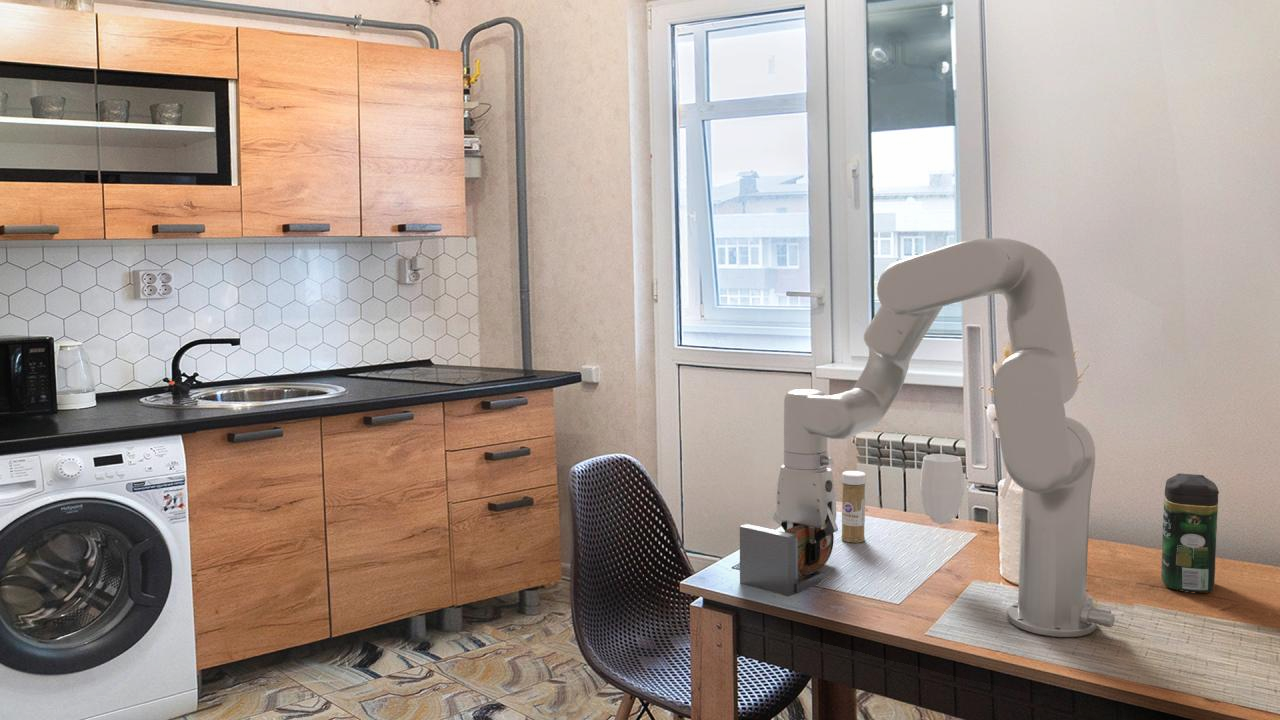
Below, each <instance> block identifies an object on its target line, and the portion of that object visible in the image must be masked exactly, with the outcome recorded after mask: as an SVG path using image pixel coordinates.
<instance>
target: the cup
mask: <svg viewBox="0 0 1280 720" xmlns="http://www.w3.org/2000/svg"><path fill="white" fill-rule="evenodd" d="M962 463H963V462H962V459H961V457H960V456H957V455H952V454H945V453H941V454H940V453H939V454H938V453H936V454H935V453H934V454H933V453H932V454H927V455H924V456H923V458H922V463H921V470H920V481H919V482H920V483H919V484H920V485H919V491H920V498H921V504H922V507H923V510H924V514H925V515H926V517H929V518H930V519H931V521H932V522H933V523H936V524H938V525H944V524H949V523H950V522H951V520H953V518H956V517H958V514H959V511H960V509H961V505H962V501H963V495H964V489H965V488H964V471H963V464H962Z"/></svg>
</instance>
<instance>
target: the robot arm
mask: <svg viewBox="0 0 1280 720" xmlns="http://www.w3.org/2000/svg"><path fill="white" fill-rule="evenodd" d="M876 294H877V297H878V298H877V299H878V300H879V302H880V306H879V308H878V310H877V311H876V313H875V315H874V317H873V318H872V320H871V321H870V323H869V325H868V327H867V328H866V330H865V331H864V334H863V340H864V343H865V345H866V346H867V347H868V358H867V362H866V365H865V367H864V368H863V370H862V372H861V374H860V376H859V378H858V379H857V381H856V382H855V384H854V386H853V387H852V388H851V389H850V390H846V391H843V392H840V393H836V394H832V395H827V394H826V393H825V392H824V391H821V390H819V389H811V388H800V389H792V390H789V391H788V392H787V393H786V394H785V396H784V398H783V401H784V402H783V464H782V465H781V467H780V470H779V473H778V475H779V476H778V480H777V481H778V482H777V488H776V500H775V501H776V510H775V512H774V515H773V516H772V519H773V521H775V522H776V523H777V524H779V526H781V528H782V530H783V531H784V532H785V531H786V530H787V529H790V528H792V527H795V526H797V525H799V524H801V525H806V526H808V529H809V543H807V544H806V564H807V565H809V566H811V565H813V564H815V563H817V562H819V558H820V541H822V540H823V538H825V537H826V536H827V535H829V534H832V533H833V534H835V533H837V532H838V531H839V528H838V525H837V523H836V520H837V498H836V496H837V495H836V487H835V480H834V475H833V470H832V468H829V467H828V466H832V465H833V462H834V460H833V458H832V457H830V456H828V455H829V453H828V439H831V440H845V439H848V438H852V437H854V436H856V435H858V434H862V433H864V432H867V431H870V430H872V429H874V428H875V427H876V426H877V425H879V423H880V422H881V421H882V420H883V419H884V417H885V416H886V414H887V413H888V411H889V409H890V408H891V406H892V404H893V403H894V402H895V400H896V398H897V396H898V395H899V393H900V392H901V389H902V387H903V386H904V384H905V380H906V377H907V373H908V371H909V365H910V361H911V359H912V357H913V356H914V354H915V352H916V350H917V349H918V347H919V345H920V344H921V343H922V341H923V339H924V338H925V336H926V334H927V332H928V331H929V329H930V328H931V326H932V324H933V323H934V322H935V320H936V318H937V317H938V315H939V314H940V312H941V310H942V309H943V307H945V306H949V305H952V304H957V303H961V302H964V301H968V300H972V299H976V298H980V297H982V298H983V297H986V296H993V295H997V294H998V295H1002V296H1003V297H1004V298H1005V300H1006V305H1007V309H1006V324H1007V330H1008V335H1009V341H1010V352H1011V355H1009V356H1008V357H1006V359H1005V360H1003V361H1002V363H1000V365H999V367H998V368H997V370H996V373H995V375H994V380H993V386H992V387H993V388H992V392H993V393H992V396H993V404H994V409H995V416H996V422H997V428H998V429H997V430H998V435H999V436H998V437H999V443H1000V449H1001V455H1002V460H1003V464H1004V466H1005V470H1006V472H1007V473H1008V476H1009V477H1010V478H1011V480H1012V481H1013V482H1014V483H1015V484H1016V485H1017V486H1019V487H1020V488H1022V493H1021V495H1022V496H1021V505H1020V528H1019V529H1020V530H1019V531H1020V534H1019V535H1020V536H1019V560H1018V561H1019V565H1018V566H1019V567H1018V569H1019V570H1018V598H1017V600H1018V601H1017V602H1016V603H1014V604H1012V605H1010V606H1009V607H1008V608H1007V610H1006V617H1007V620H1008V621H1009V622H1010V624H1012V625H1013V626H1015V627H1017V628H1019V629H1021V630H1024V631H1025V632H1029V633H1032V634H1037V635H1042V636H1045V637H1046V636H1047V637H1048V636H1049V637H1058V638H1077V637H1083V636H1086V635H1087V636H1088V635H1090V634H1092V633H1093V632H1094V631H1095V630H1096V628H1097V625H1099V626H1102V627H1106V628H1110V629H1111V628H1112V629H1113V627H1114V624H1115V619H1116V618H1115V614H1112V610H1111V609H1108V608H1103V607H1097V606H1096V605H1095V604H1093V595H1090V594H1087V581H1088V580H1087V576H1088V575H1087V572H1088V553H1089V552H1088V550H1089V547H1088V546H1089V527H1090V513H1091V510H1090V509H1091V506H1090V505H1091V495H1092V489H1093V488H1092V487H1093V480H1094V472H1095V465H1096V447H1095V442H1094V439H1093V437H1092V435H1091V433H1090V432H1089V430H1088V429H1087V427H1086V426H1084V424H1082V423H1081V422H1080V421H1078V420H1076V419H1074V418H1072V417H1068V416H1066V411H1065V410H1066V409H1065V404H1066V403H1068V402H1069V401H1070V400H1071V399H1073V398H1074V396H1075V394H1076V392H1077V390H1078V386H1079V375H1078V374H1079V373H1078V368H1077V363H1076V358H1075V357H1076V356H1075V351H1074V346H1073V345H1074V344H1073V338H1072V333H1071V332H1072V331H1071V328H1070V321H1069V317H1068V311H1067V304H1066V296H1065V291H1064V287H1063V283H1062V279H1061V276H1060V274H1059V271H1058V269H1057V267H1056V266H1055V264H1054V263H1053V261H1052V260H1051V259H1050V257H1048V256H1047V255H1046V254H1045V253H1044V252H1043V251H1042V250H1040V249H1038V248H1037V247H1035V246H1034V245H1030V244H1028V243H1026V242H1022V241H1020V240H1016V239H1012V238H1011V239H1010V238H1002V237H992V238H976V239H970V240H969V239H968V240H964V241H961V242H957V243H954V244H951V245H948V246H943V247H941V248H938V249H935V250H932V251H929V252H924V253H922V254H919V255H915V256H911V257H908V258H904V259H902V260H898V261H895V262H893V263H891V264H890V265H888V266H887V268H885V269H884V271H883V272H882V273H881V274H880V276H879V279H878V281H877V286H876ZM825 523H826V528H824V529H823V526H824V524H825Z"/></svg>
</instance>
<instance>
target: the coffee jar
mask: <svg viewBox="0 0 1280 720" xmlns="http://www.w3.org/2000/svg"><path fill="white" fill-rule="evenodd" d="M1219 494H1220V491H1219V489H1218V486H1217V485H1216V483H1215V482H1213V480H1210V479H1209V478H1207V477H1205V476H1204V475H1203V474H1194V473H1193V474H1190V473H1176V474H1175V475H1173V476H1171V477H1169V478H1168V479H1167V480H1165V487H1164V498H1163V499H1164V500H1163V510H1162V513H1163V515H1162V539H1161V540H1162V542H1161V544H1162V545H1161V546H1162V549H1161V550H1162V552H1161V580H1162V582H1163V584H1164V586H1165V585H1166V586H1165V587H1167V588H1168V587H1169V588H1168V589H1172V588H1173V590H1176V589H1177V590H1176V591H1179V590H1183V591H1188V592H1200V594H1201V592H1202V593H1210V592H1212V591H1213V590H1214V589H1215V579H1216V578H1215V577H1216V551H1217V550H1216V549H1217V533H1218V532H1217V530H1218V512H1219V511H1218V510H1219Z"/></svg>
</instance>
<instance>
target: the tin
mask: <svg viewBox="0 0 1280 720" xmlns="http://www.w3.org/2000/svg"><path fill="white" fill-rule="evenodd" d="M824 528H826V523H825V524H824V526H823V529H824ZM784 532H786V533H791V534H795V538H796V539H798V578H801V577H803V576H805V575H807V574H809V573H811V572H813V571H814V570H815V571H816V570H818V568H821V567H823V566H824V565H826V563H827V562H828V561H829V559H830V557H831V554H832V551H833V547H834V543H835V542H834V541H835V540H834V533H832V534H829V535H827V536H826V537H825V538H823V540H822V541H820V558H819V562H817V563H815V564H813V565H811V566H809V565H807V564H806V544H807V543H809V529H808V526H806V525H801V524H799V525H797V526H795V527H792V528H790V529H787V530H786V531H785V530H784Z"/></svg>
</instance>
